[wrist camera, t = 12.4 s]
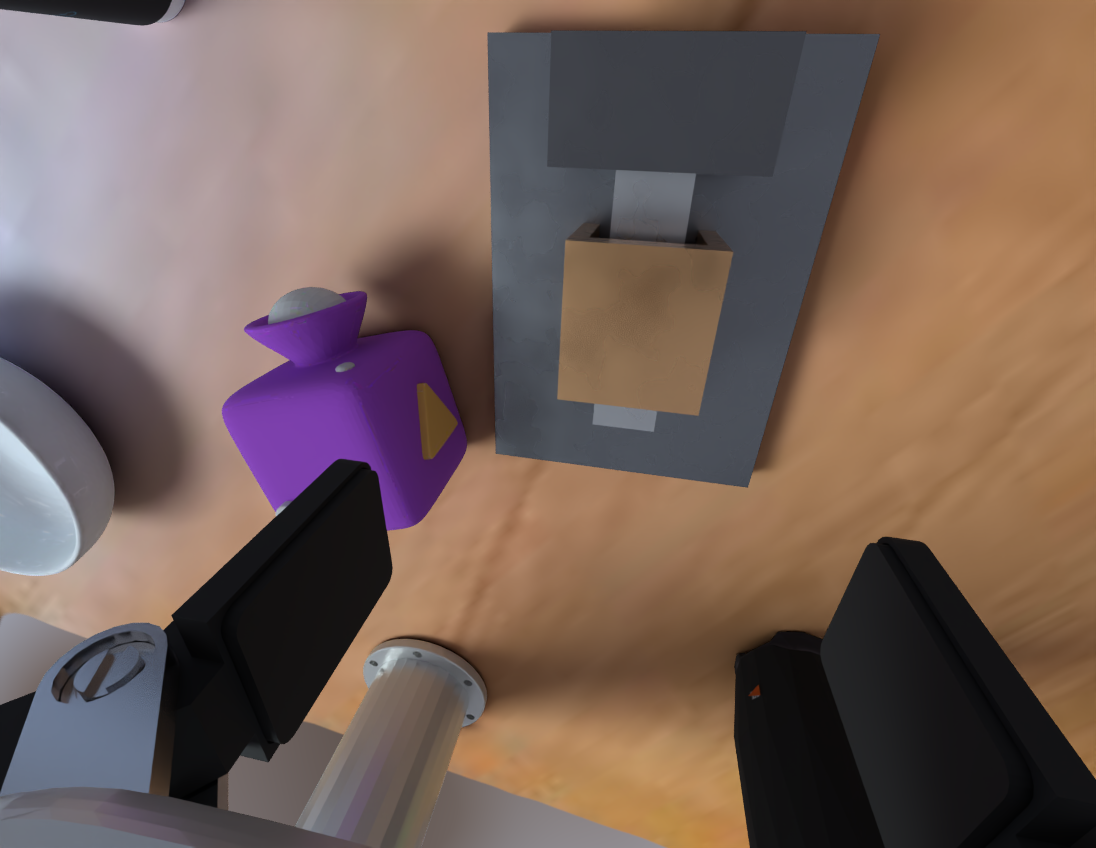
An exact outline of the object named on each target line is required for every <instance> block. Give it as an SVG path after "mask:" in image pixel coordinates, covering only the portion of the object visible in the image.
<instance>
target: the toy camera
mask: <svg viewBox="0 0 1096 848" xmlns="http://www.w3.org/2000/svg"><path fill="white" fill-rule="evenodd" d="M366 302H367V294H366V293H365V292H361V291H356V292H348V293H343V294H337V293H335V292H333V291H331V290H327V289H324V288H317V287H307V288H301V289H297V290H294V291H291V292H289V293H288V294H286V295H284V296H283V297H281V298H280V299H279V300H278V301H277V302H276V303H275V305H274V306H273V308H272V309H271V312H270V314H269V315H267V316H265V317H262V318H260V319H257V320H255V321H253V322H251V323H250V324H248V325H247V326H246V327H245V328H244V331H245V332H246V333H247V334H248V335H250V336H251V337H252V338H253V339H255V340H257V341H258V342H260V343H261V344H263V345H265V346H266V347H268V348H270V349H272V350H274V351H275V352H277V353H279V354H281V355H282V356H284V357H286V358H287V359H289V361H288V362H286V363H284V364H282V365H280V366H278V367H277V368H275V369H273V370H271V371H269V372H268V373H266V374H264V375H263V376H261V377H259V378H257V379H256V380H254V381H252V382H251V383H249V384H247V385H246V386H244V387H242V388H241V389H239V390H238V391H237V392H235V393H234V394H233V395H232V396H230V397H229V398H228V399H227V401H226V402H225V403H224V405H223V408H222V415H223V419H224V422H225V425H226V427H227V429H228V431H229V433H230V435H231V437H232V438H233V440H234V442H235V444H236V445H237V447H238V449H239V451H240V452H241V454H242V456H243V458H244V459H245V461H246V463H247V465H248V466H249V468H250V470H251V471H252V473H253V475H254V476H255V478H256V480H257V482H258V483H259V485H260V487H261V488H262V490H263V492H264V493H265V495H266V497H267V499H268V500H269V502H270V504H271V505H272V507H273V509H274V510H275V512H276V516H277V515H278V514H279V513H280V512H281V511H282V510H284V509H285V508H286V507H287V506H288V505H289V504H290V503H291V502H292V501H293V500H294V499H295V498H296V497H297V496H298V495H299V494H300V493H302V492H303V491H304V490H305V489H306V488H307V487H308V486H309V485H310V484H311V483H312V482H313V481H314V480H315V479H316V478H317V477H318V476H320V475H321V474H322V473H323V472H324V471H325V470H326V469H327V468H328V467H329V466H330V465H331V464H332V463H333V462H334V461H336V460H337V459H348V460H355V461H361V462H366V463H368V464H369V465H370V466H371V470H374V471H376V472H377V474H378V478H379V484H380V490H381V497H382V503H383V509H384V516H385V522H386V528H387V530H397V529H404V528H408V527H411V526H414V525H416V524H417V523H419V522H420V521H421V520H422V519H423V518H424V517H425V516H426V514H427V513H428V512H429V510H430V509H431V507H432V506H433V505H434V503H435V502H436V500H437V498H438V497H439V495H440V494H441V492H442V490H443V489H444V487H445V486H446V484H447V483H448V481H449V479H450V478H451V476H452V475H453V473H454V471H455V470H456V468H457V467H458V465H459V463H460V462H461V460H462V458H463V456H464V454H465V452H466V448H467V439H466V434H465V431H464V427H463V424H462V421H461V418H460V415H459V412H458V409H457V406H456V403H455V400H454V397H453V394H452V391H451V389H450V386H449V383H448V380H447V377H446V374H445V371H444V368H443V366H442V363H441V360H440V357H439V354H438V352H437V350H436V347H435V345H434V343H433V341H432V340H431V338H430V337H429V336H428V335H427V334H426V333H424V332H421V331H416V330H407V331H398V332H391V333H385V334H379V335H374V336H368V337H362V338H358V334H359V330H360V327H361V323H362V320H363V316H364V312H365V308H366Z"/></svg>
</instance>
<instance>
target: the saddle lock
mask: <svg viewBox="0 0 1096 848" xmlns="http://www.w3.org/2000/svg"><path fill="white" fill-rule="evenodd" d="M599 228H600V224H594V223H583V224H582V225H581V226H580V227H579V228H578V229H577V230H576V231H575V232H574V233H573V234H572V235H570V236H569V237H568V238H567V239H566V240H565V258H564V277H563V297H562V316H561V336H560V355H559V375H558V394H557V399H559V400H567V401H576V402H585V403H593V404H602V405H610V406H619V407H627V408H636V409H645V410H653V411H662V412H670V413H679V414H688V415H696V416H699V411H700V406H701V401H702V397H703V392H704V387H705V383H706V378H707V373H708V369H709V364H710V359H711V355H712V350H713V345H714V340H715V336H716V331H717V326H718V322H719V317H720V312H721V308H722V303H723V298H724V293H725V289H726V284H727V279H728V275H729V270H730V265H731V261H732V256H733V251H732V250H731V248H730V247H729V246H728V245H727V244H726V243H725V241H724V240H723V239H722V238H721V237H720V236H719V234H718V233H717V232H716V231H706V230H698V236H697V242H696V244H681V243H666V242H651V241H636V240H621V239H606V238H599Z"/></svg>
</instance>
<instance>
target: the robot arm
mask: <svg viewBox="0 0 1096 848" xmlns="http://www.w3.org/2000/svg"><path fill="white" fill-rule="evenodd" d="M391 575H392V560H391V554H390V547H389V541H388V535H387V528H386V522H385V516H384V509H383V503H382V497H381V490H380V484H379V478H378V474H377V472H376V471H374V470H371V466H370V465H369V464H368V463H366V462H361V461H355V460H348V459H337V460H336V461H334V462H333V463H332V464H331V465H330V466H329V467H328V468H327V469H326V470H325V471H324V472H323V473H322V474H321V475H320V476H318V477H317V478H316V479H315V480H314V481H313V482H312V483H311V484H310V485H309V486H308V487H307V488H306V489H305V490H304V491H303V492H302V493H300V494H299V495H298V496H297V497H296V498H295V499H294V500H293V501H292V502H291V503H290V504H289V505H288V506H287V507H286V508H285V509H284V510H282V511H281V512H280V513H279V514H278V515H277V516H276V517H275V518H274V519H273V520H272V521H271V522H270V523H269V524H268V525H267V526H266V527H265V528H263V529H262V530H261V531H260V532H259V533H258V534H257V535H256V536H255V537H254V538H253V539H252V540H251V541H250V542H249V543H248V544H247V545H245V546H244V547H243V548H242V549H241V550H240V551H239V552H238V553H237V554H236V555H235V556H234V557H233V558H232V559H231V560H230V561H229V562H227V563H226V564H225V565H224V566H223V567H222V568H221V569H220V570H219V571H218V572H217V573H216V574H215V575H214V576H213V577H212V578H211V579H209V580H208V581H207V582H206V583H205V584H204V585H203V586H202V587H201V588H200V589H199V590H198V591H197V592H196V593H195V594H194V595H193V596H191V597H190V598H189V599H188V600H187V601H186V602H185V603H184V604H183V605H182V606H181V607H180V608H179V609H178V610H177V611H176V612H175V613H173V614H172V615H171V616H172V618H173V620H174V621H173V622H171V623H170V624H169V625H168V626H167V627H166V628H165V629H164V630H162V629H161V628H160V627H159V626H156V625H153V624H150V623H130V624H126V625H121V626H117V627H113V628H111V629H108V630H106V631H103V632H101V633H98V634H96V635H94V636H92V637H90V638H88V639H87V640H85V641H83V642H81V643H80V644H78V645H76V646H75V647H74V648H72V649H71V650H70V651H68V652H67V653H66V654H65V655H63V656H62V657H61V658H59V659H58V660H57V662H56V663H55V664H54V665H53V666H52V667H51V668H50V669H49V670H48V671H47V672H46V674H45V675H44V677H43V679H42V681H41V682H40V684H39V686H38V688H37V690H36V691H35V692H33V693H30V694H28V695H25V696H22V697H20V698H17V699H15V700H12V701H9V702H7V703H4V704H2V705H0V848H421V846H422V843H423V840H424V837H425V834H426V831H427V828H428V825H429V822H430V819H431V816H432V813H433V811H434V807H435V804H436V802H437V799H438V795H439V793H440V790H441V787H442V784H443V781H444V778H445V775H446V772H447V769H448V766H449V763H450V760H451V757H452V754H453V751H454V748H455V745H456V742H457V739H458V736H459V733H460V730H461V727H464V726H467V725H470V724H472V723H473V722H475V721H477V720H478V719H479V718H480V717H481V715H482V713H483V711H484V708H485V705H486V701H487V690H486V687H485V684H484V682H483V680H482V679H481V677H480V675H479V674H478V673H477V672H476V670H475V669H474V668H473V667H472V666H471V665H470V664H469V663H467V662H466V661H465V660H464V659H463V658H461V657H460V656H458V655H456V654H455V653H453V652H451V651H449V650H447V649H445V648H443V647H441V646H438V645H435V644H433V643H430V642H425V641H421V640H414V639H395V640H390V641H386V642H384V643H381V644H379V645H378V646H376V647H375V648H374V649H373V650H372V651H371V653H370V654H369V656H368V658H367V659H366V661H365V664H364V667H363V675H364V679H365V682H366V684H367V686H368V688H369V689H368V691H367V693H366V695H365V697H364V699H363V700H362V702H361V704H360V706H359V708H358V710H357V712H356V713H355V715H354V717H353V719H352V721H351V723H350V725H349V727H348V728H347V730H346V732H345V734H344V736H343V738H342V740H341V741H340V744H339V745H338V747H337V749H336V751H335V753H334V755H333V756H332V759H331V760H330V762H329V764H328V766H327V768H326V769H325V772H324V773H323V775H322V777H321V779H320V781H319V783H318V785H317V786H316V788H315V790H314V792H313V794H312V796H311V797H310V799H309V801H308V803H307V805H306V807H305V809H304V811H303V812H302V815H301V816H300V818H299V820H298V822H297V824H296V826H295V827H294V826H290V825H286V824H282V823H278V822H274V821H270V820H266V819H262V818H257V817H253V816H249V815H245V814H240V813H236V812H231V811H228V772H229V770H230V769H231V768H232V766H233V765H234V763H235V762H236V760H237V759H238V758H239V756H240V755H241V756H244V757H248V758H253V759H257V760H261V761H265V762H269V761H270V759H271V758H272V756H273V754H274V753H275V751H276V750H277V748H278V746H279V745H280V744H285V743H287V742H288V741H289V740H290V739H291V738H292V737H293V736H294V734H295V733H296V731H297V730H298V728H299V727H300V725H301V723H302V722H303V720H304V719H305V717H306V715H307V714H308V712H309V711H310V709H311V707H312V706H313V704H314V703H315V701H316V699H317V698H318V696H319V695H320V693H321V691H322V690H323V688H324V686H325V685H326V683H327V682H328V680H329V678H330V677H331V675H332V674H333V672H334V670H335V669H336V667H337V666H338V664H339V662H340V661H341V659H342V658H343V656H344V654H345V653H346V651H347V650H348V648H349V646H350V645H351V643H352V642H353V640H354V638H355V637H356V635H357V633H358V632H359V630H360V629H361V627H362V625H363V624H364V622H365V621H366V619H367V617H368V616H369V614H370V613H371V611H372V609H373V608H374V606H375V605H376V603H377V601H378V600H379V598H380V597H381V595H382V593H383V592H384V590H385V589H386V587H387V585H388V583H389V581H390V579H391ZM820 654H821V661H822V665H823V667H824V670H825V673H826V676H827V679H828V682H829V685H830V688H831V691H832V694H833V697H834V700H835V703H836V705H837V708H838V711H839V714H840V717H841V720H842V723H843V726H844V729H845V732H846V735H847V738H848V741H849V744H850V746H851V749H852V752H853V755H854V758H855V761H856V764H857V767H858V770H859V773H860V776H861V779H862V782H863V785H864V787H865V790H866V793H867V796H868V799H869V802H870V805H871V808H872V811H873V814H874V817H875V820H876V823H877V825H878V828H879V831H880V834H881V837H882V840H883V843H884V846H885V848H1096V779H1095V778H1094V776H1093V775H1092V774H1091V772H1090V771H1089V770H1088V768H1087V767H1086V765H1085V764H1084V763H1083V761H1082V760H1081V758H1080V757H1079V756H1078V754H1077V753H1076V751H1075V750H1074V749H1073V747H1072V746H1071V745H1070V743H1069V742H1068V740H1067V739H1066V738H1065V736H1064V735H1063V733H1062V732H1061V731H1060V729H1059V728H1058V727H1057V725H1056V724H1055V722H1054V721H1053V720H1052V718H1051V717H1050V715H1049V714H1048V713H1047V711H1046V710H1045V708H1044V707H1043V706H1042V704H1041V703H1040V702H1039V700H1038V699H1037V697H1036V696H1035V695H1034V693H1033V692H1032V690H1031V689H1030V688H1029V686H1028V685H1027V684H1026V682H1025V681H1024V679H1023V678H1022V677H1021V675H1020V674H1019V672H1018V671H1017V670H1016V668H1015V667H1014V665H1013V664H1012V663H1011V661H1010V660H1009V659H1008V657H1007V656H1006V654H1005V653H1004V652H1003V650H1002V649H1001V647H1000V646H999V645H998V643H997V642H996V640H995V639H994V638H993V636H992V635H991V634H990V632H989V631H988V629H987V628H986V627H985V625H984V624H983V622H982V621H981V620H980V618H979V617H978V616H977V614H976V613H975V611H974V610H973V609H972V607H971V606H970V604H969V603H968V602H967V600H966V599H965V597H964V596H963V595H962V593H961V592H960V591H959V589H958V588H957V586H956V585H955V584H954V582H953V581H952V579H951V578H950V577H949V575H948V574H947V572H946V571H945V570H944V568H943V567H942V566H941V564H940V563H939V561H938V560H937V559H936V557H935V556H934V554H933V553H932V552H931V550H930V549H929V548H928V547H927V546H926V545H925V544H924V543H922V542H920V541H913V540H906V539H899V538H892V537H882V538H881V539H879V540H878V542H877V543H870V544H869V545H867V547H866V549H865V551H864V553H863V555H862V557H861V559H860V561H859V563H858V565H857V568H856V570H855V572H854V574H853V576H852V578H851V580H850V583H849V585H848V587H847V589H846V591H845V593H844V595H843V597H842V600H841V602H840V604H839V606H838V608H837V610H836V612H835V614H834V617H833V619H832V621H831V623H830V625H829V627H828V629H827V631H826V634H825V636H824V638H823V640H822V643H821V648H820Z"/></svg>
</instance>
